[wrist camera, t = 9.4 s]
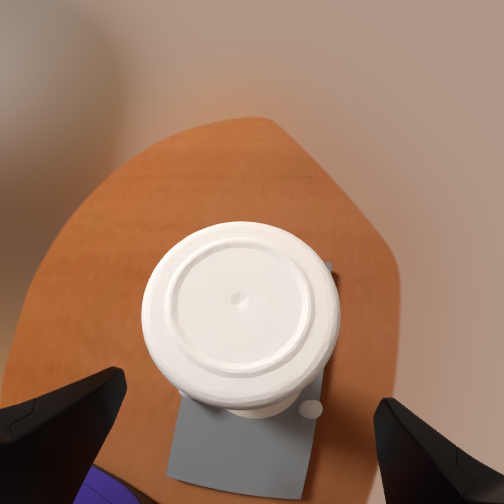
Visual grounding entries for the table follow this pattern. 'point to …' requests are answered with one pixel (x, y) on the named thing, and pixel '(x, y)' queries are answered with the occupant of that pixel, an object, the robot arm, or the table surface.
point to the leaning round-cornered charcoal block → (107, 490)
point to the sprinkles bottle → (241, 315)
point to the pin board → (247, 444)
